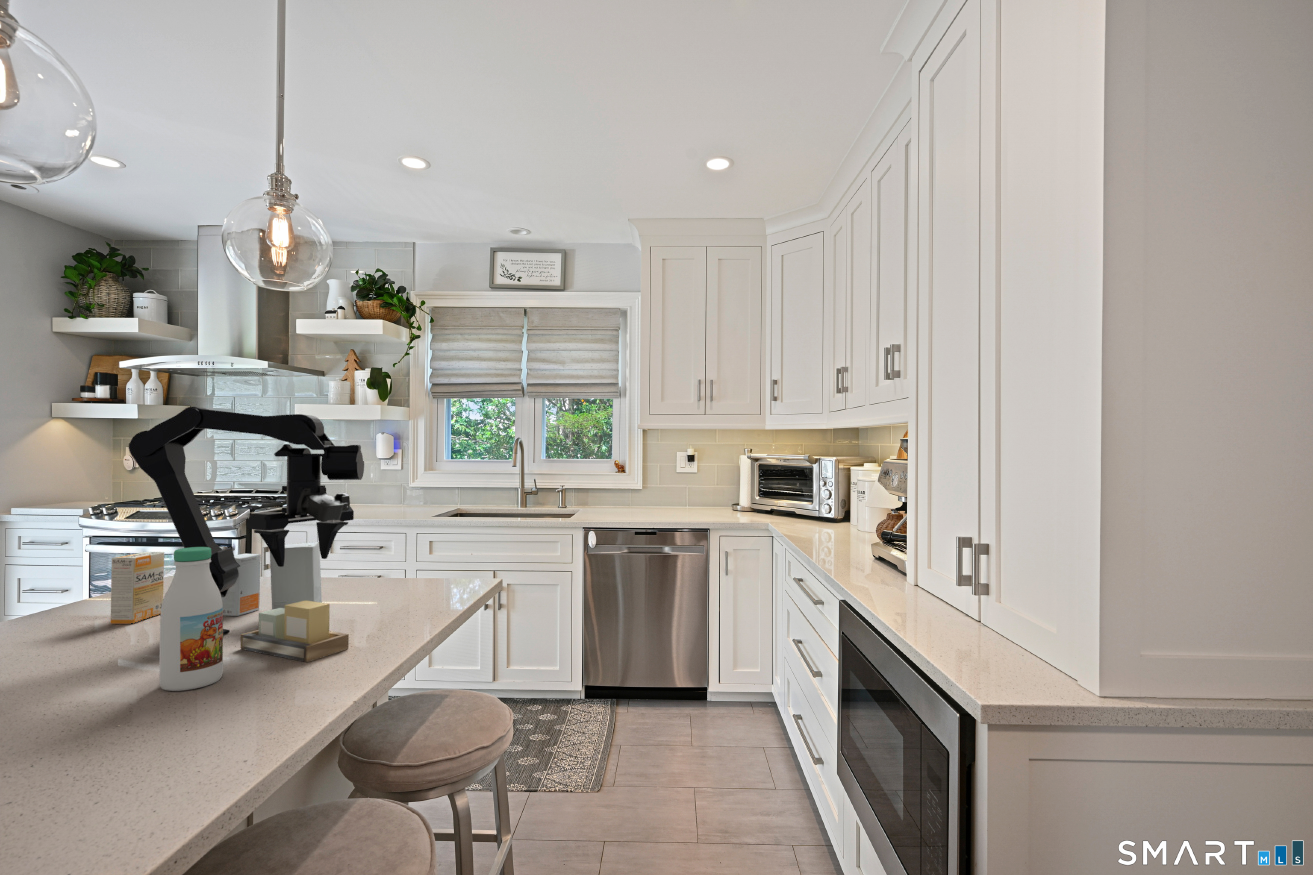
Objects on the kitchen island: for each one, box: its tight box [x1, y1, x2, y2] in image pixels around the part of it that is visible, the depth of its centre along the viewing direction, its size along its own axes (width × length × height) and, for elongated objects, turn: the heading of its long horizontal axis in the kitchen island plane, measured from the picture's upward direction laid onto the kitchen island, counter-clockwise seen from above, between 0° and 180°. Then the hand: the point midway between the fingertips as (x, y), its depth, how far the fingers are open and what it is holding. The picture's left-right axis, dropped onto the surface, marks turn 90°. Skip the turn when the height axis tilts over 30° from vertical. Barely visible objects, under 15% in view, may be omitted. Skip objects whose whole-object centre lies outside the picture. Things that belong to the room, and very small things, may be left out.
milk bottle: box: [159, 547, 224, 692], centre depth 100 cm, size 8×8×20 cm
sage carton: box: [258, 608, 285, 639], centre depth 118 cm, size 4×4×6 cm
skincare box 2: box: [269, 541, 323, 610], centre depth 138 cm, size 8×6×15 cm
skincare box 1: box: [222, 553, 262, 617], centre depth 141 cm, size 6×4×12 cm
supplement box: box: [110, 551, 165, 625], centre depth 136 cm, size 8×5×13 cm, turn 179°
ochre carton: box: [284, 600, 331, 644], centre depth 115 cm, size 4×6×8 cm
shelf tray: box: [240, 629, 350, 663], centre depth 116 cm, size 17×8×2 cm, turn 65°
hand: (303, 562), depth 127 cm, fingers open, 9 cm apart
